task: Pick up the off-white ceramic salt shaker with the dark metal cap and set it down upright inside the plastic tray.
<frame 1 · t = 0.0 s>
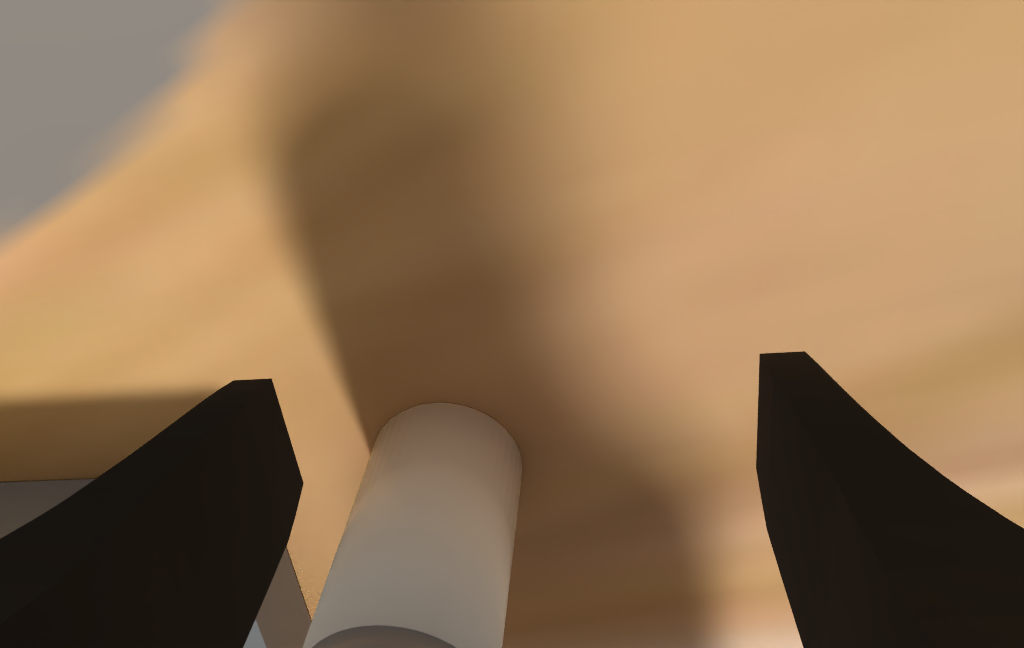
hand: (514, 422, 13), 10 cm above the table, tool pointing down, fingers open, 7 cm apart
shaker: (447, 464, 26), on the table
tray: (128, 628, 32), on the table
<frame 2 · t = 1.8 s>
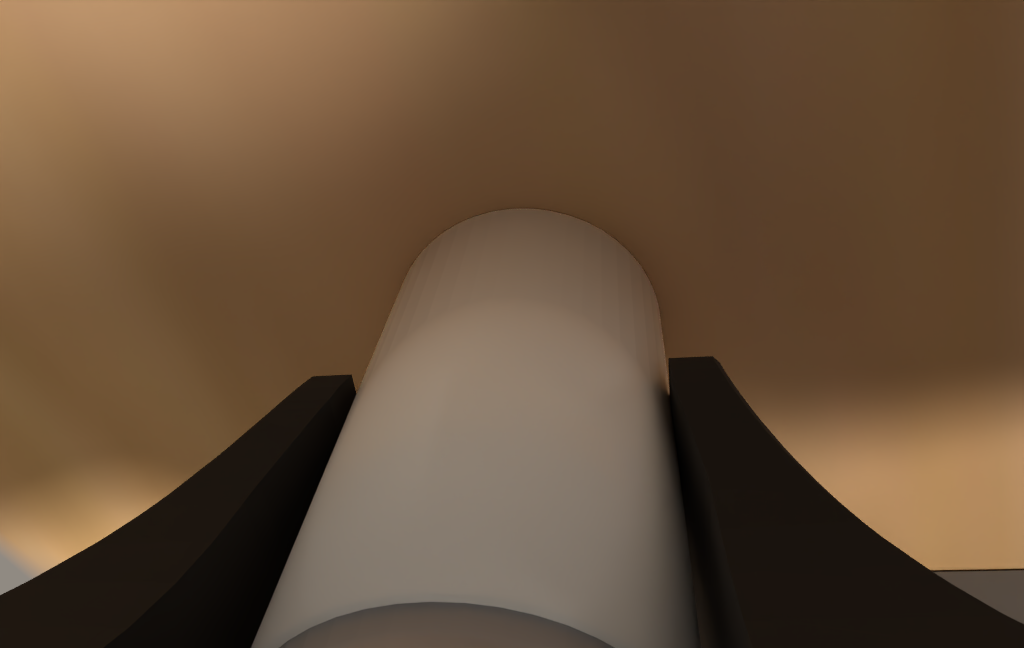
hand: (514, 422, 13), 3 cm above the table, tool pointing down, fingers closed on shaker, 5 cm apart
shaker: (527, 331, 15), on the table, touching gripper
when the fingers open (5 cm above the table, at t = 5.0 s): shaker drops 2 cm, resting on tray.
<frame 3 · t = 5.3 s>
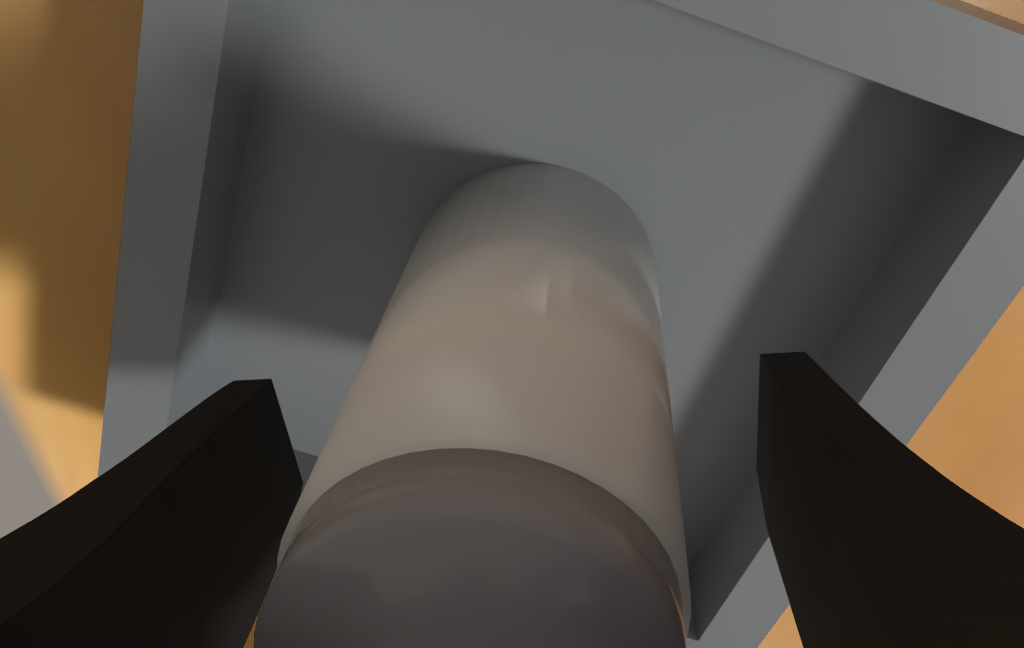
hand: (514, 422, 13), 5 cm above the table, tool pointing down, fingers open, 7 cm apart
shaker: (533, 279, 17), point 1 cm above the table, touching tray
tray: (536, 260, 17), on the table
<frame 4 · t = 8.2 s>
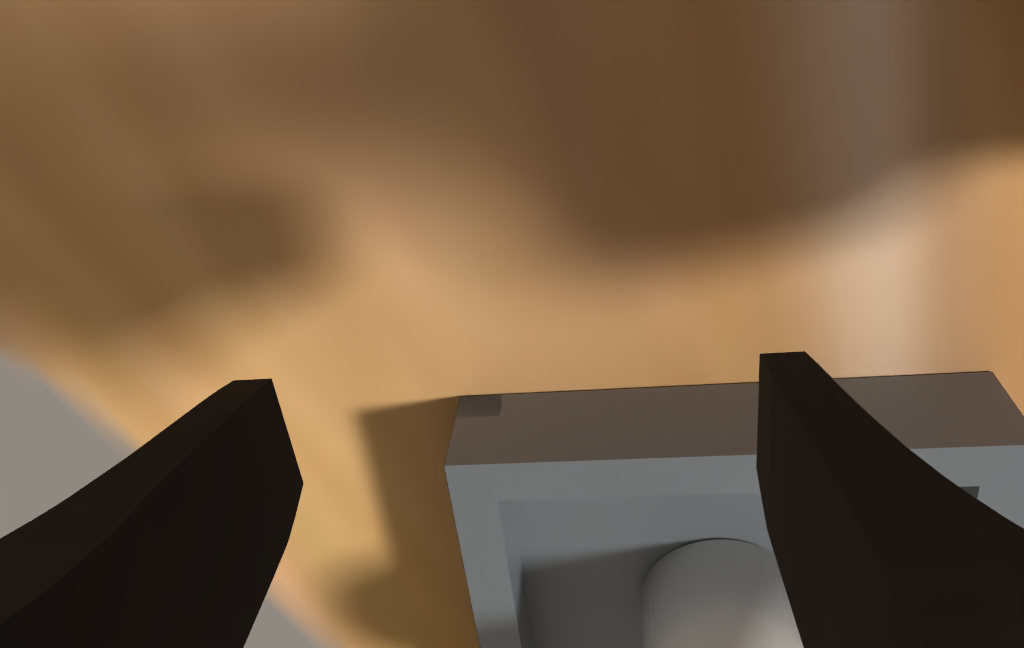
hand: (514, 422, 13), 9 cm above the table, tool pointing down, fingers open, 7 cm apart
shaker: (718, 595, 26), point 1 cm above the table, touching tray
tray: (715, 571, 27), on the table
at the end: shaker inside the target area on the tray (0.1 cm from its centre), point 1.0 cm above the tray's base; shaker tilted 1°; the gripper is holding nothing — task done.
